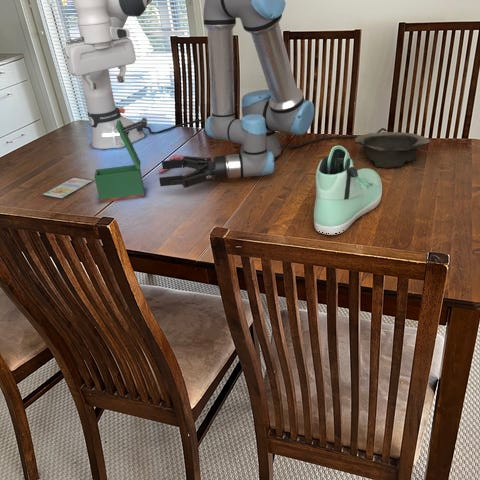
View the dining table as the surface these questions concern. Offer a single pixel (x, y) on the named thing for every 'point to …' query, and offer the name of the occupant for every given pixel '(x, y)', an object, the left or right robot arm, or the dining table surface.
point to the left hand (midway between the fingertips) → (107, 85)
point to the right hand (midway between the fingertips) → (161, 173)
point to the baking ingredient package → (67, 187)
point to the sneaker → (343, 192)
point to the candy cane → (172, 159)
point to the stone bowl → (391, 147)
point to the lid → (127, 141)
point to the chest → (119, 183)
